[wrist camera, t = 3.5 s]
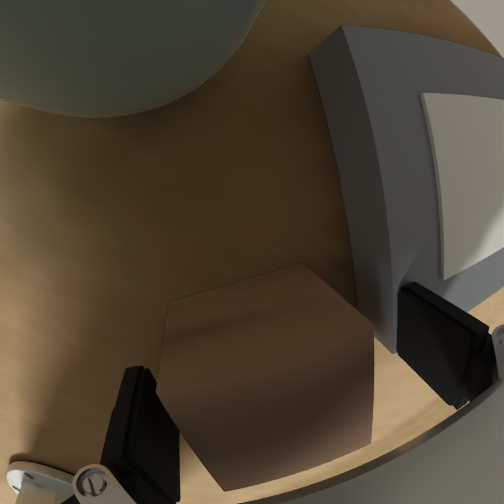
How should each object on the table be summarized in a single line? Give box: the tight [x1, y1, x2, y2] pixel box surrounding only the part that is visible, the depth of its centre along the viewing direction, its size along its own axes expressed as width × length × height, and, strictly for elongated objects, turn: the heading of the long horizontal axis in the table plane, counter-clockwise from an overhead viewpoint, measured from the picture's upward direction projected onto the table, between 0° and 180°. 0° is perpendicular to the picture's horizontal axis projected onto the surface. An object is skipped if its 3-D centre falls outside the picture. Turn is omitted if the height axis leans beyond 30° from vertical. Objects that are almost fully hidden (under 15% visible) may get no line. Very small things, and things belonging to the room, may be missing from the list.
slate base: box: [309, 25, 504, 354], centre depth 11 cm, size 12×12×3 cm
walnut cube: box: [156, 263, 374, 492], centre depth 10 cm, size 6×6×6 cm
